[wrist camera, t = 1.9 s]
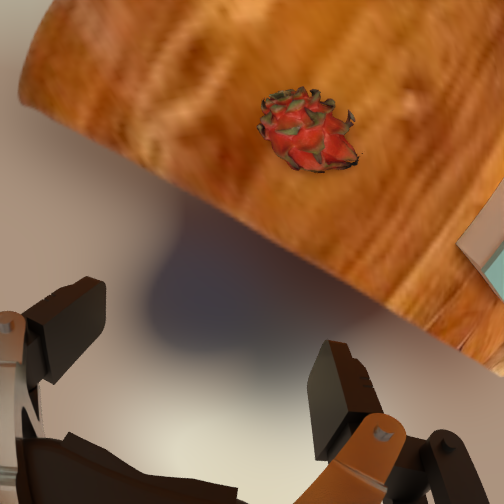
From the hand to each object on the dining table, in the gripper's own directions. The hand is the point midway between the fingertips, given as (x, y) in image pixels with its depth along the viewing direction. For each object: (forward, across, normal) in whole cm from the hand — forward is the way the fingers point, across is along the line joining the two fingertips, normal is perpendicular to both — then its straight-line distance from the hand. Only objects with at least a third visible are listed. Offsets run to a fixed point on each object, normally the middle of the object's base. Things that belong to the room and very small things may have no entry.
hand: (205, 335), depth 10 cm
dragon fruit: (+26, -4, -11) cm, 29 cm away
